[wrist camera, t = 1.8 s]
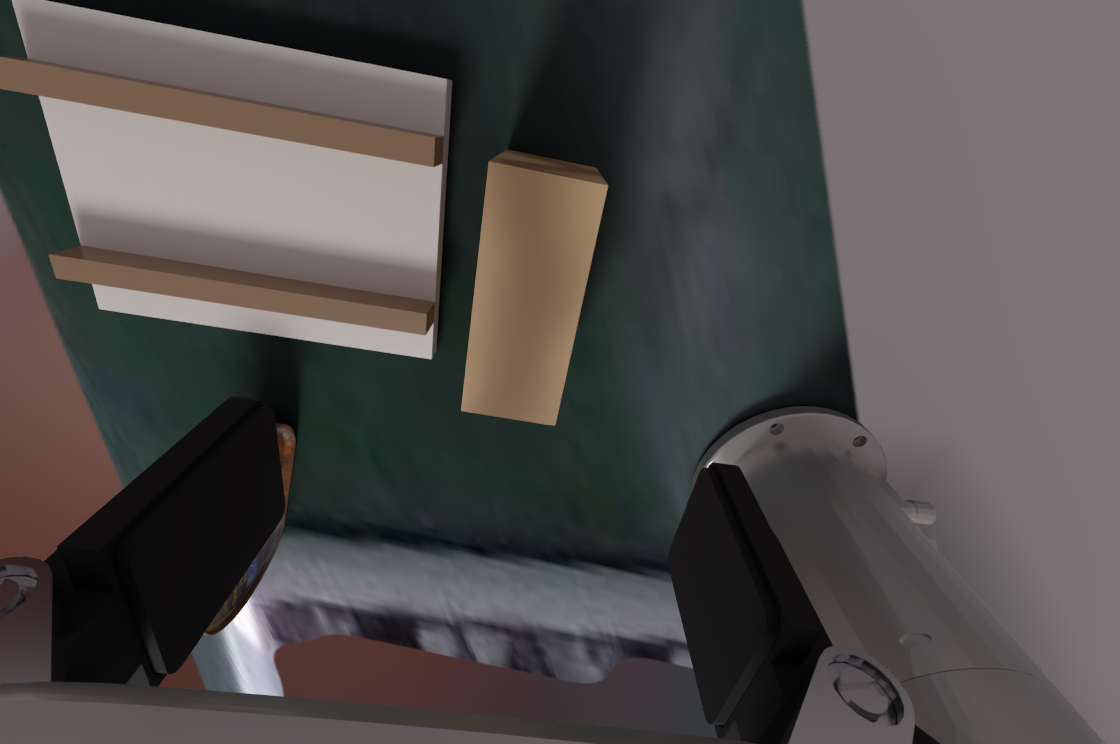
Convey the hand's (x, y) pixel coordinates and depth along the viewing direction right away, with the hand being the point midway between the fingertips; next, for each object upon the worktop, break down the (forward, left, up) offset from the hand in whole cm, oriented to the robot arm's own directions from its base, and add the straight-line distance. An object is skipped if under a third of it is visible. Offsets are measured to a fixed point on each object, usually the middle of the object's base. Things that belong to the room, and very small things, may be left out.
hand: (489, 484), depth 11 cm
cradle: (+14, -1, -18) cm, 23 cm away
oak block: (0, 0, -18) cm, 18 cm away
